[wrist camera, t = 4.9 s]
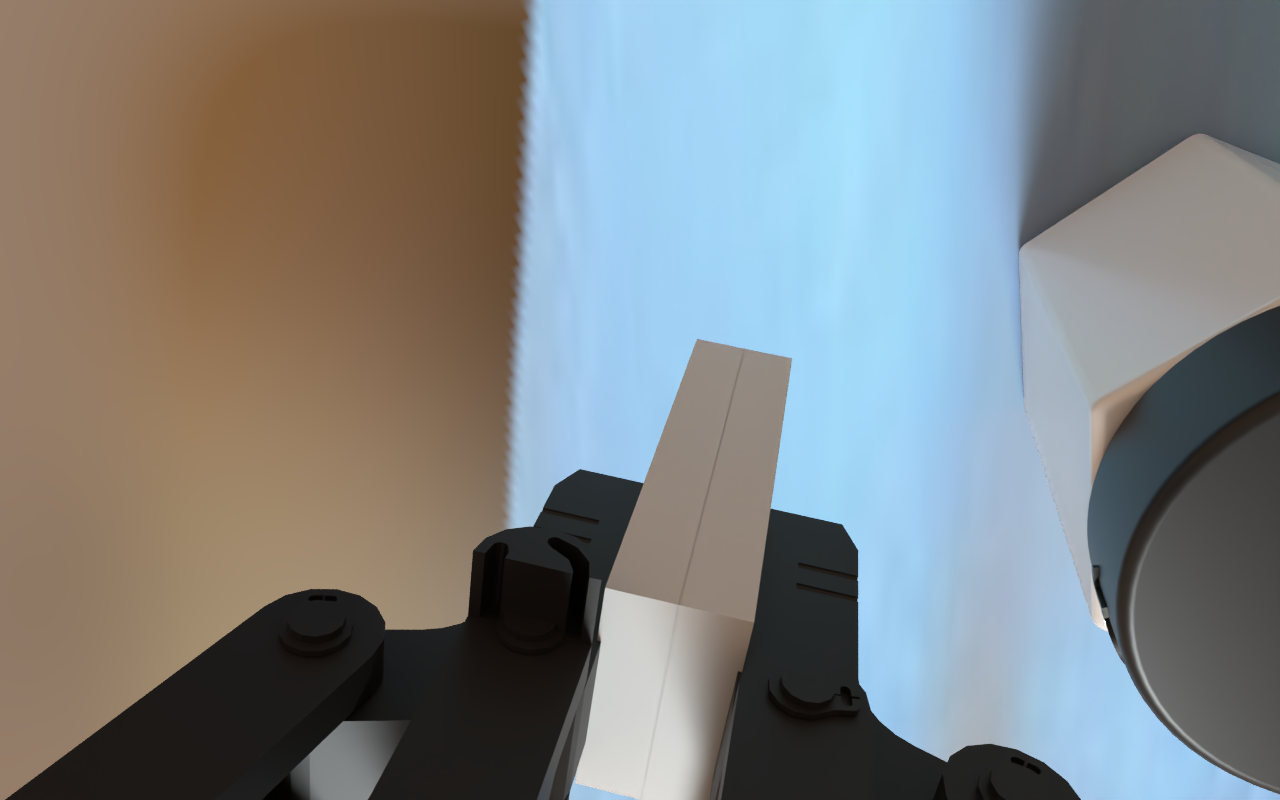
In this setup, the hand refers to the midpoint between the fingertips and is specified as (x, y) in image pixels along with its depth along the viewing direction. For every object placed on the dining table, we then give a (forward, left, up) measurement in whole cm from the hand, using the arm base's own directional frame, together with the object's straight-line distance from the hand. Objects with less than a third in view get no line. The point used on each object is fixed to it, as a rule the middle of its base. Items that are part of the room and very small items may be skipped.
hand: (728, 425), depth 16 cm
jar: (-10, 0, -12) cm, 15 cm away
